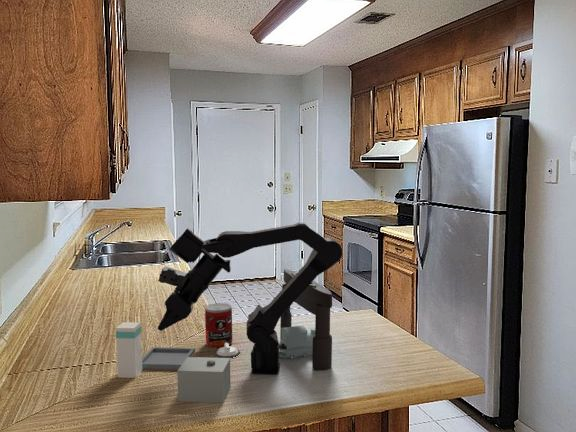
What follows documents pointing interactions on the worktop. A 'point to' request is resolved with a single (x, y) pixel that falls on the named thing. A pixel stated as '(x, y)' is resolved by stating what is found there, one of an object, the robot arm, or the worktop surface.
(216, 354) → the stove knob
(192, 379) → the unit
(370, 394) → the worktop surface
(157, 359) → the tray
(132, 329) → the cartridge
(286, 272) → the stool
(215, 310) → the canned food
